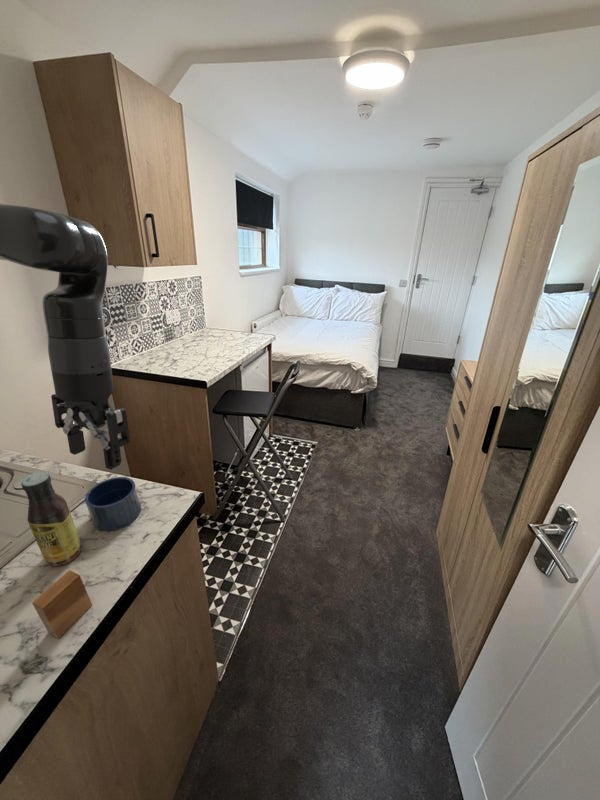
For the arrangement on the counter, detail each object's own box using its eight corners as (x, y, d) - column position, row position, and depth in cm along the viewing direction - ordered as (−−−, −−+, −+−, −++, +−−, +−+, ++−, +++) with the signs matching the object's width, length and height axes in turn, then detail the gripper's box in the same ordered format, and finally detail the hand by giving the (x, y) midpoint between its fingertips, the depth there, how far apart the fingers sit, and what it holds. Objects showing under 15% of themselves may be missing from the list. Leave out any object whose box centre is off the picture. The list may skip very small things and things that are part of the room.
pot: (83, 529, 72) (74, 505, 69) (110, 498, 81) (103, 475, 78) (126, 533, 71) (118, 509, 68) (149, 500, 80) (143, 478, 77)
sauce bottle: (38, 564, 64) (-1, 486, 56) (66, 539, 70) (34, 464, 61) (65, 572, 63) (30, 492, 54) (91, 546, 68) (62, 470, 60)
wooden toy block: (48, 633, 53) (31, 602, 50) (82, 599, 58) (69, 569, 55) (58, 639, 52) (42, 608, 49) (92, 604, 57) (79, 574, 54)
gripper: (24, 361, 48) (43, 457, 53) (90, 380, 43) (104, 484, 48) (75, 353, 54) (88, 439, 60) (138, 368, 49) (145, 461, 55)
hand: (95, 459), depth 54 cm, fingers open, 8 cm apart
